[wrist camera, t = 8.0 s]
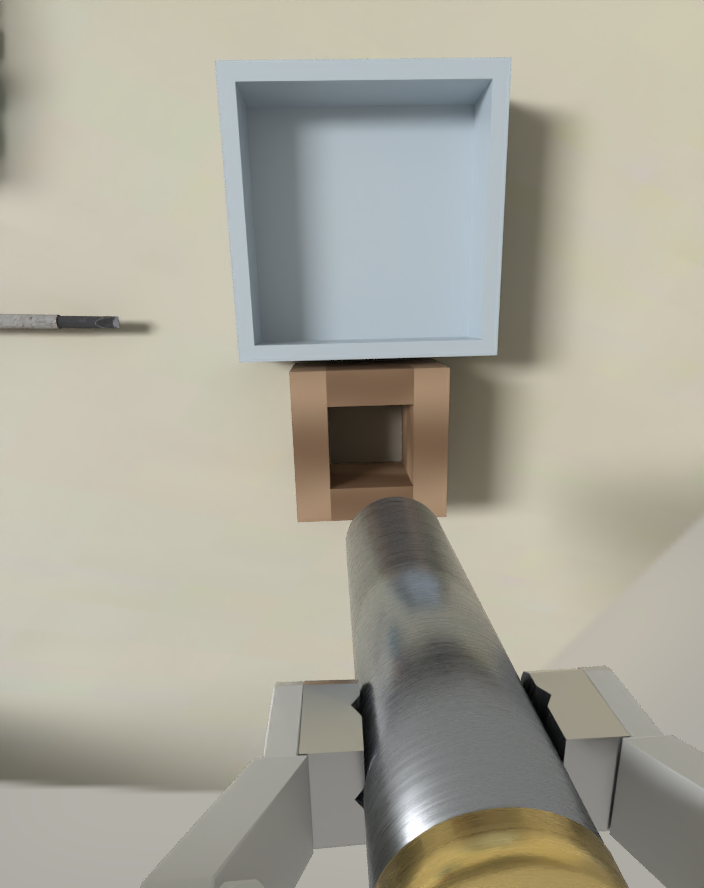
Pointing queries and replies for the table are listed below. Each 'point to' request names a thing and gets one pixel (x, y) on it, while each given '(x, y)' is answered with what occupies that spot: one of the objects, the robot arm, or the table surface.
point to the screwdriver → (56, 321)
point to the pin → (452, 728)
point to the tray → (365, 205)
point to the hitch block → (359, 484)
